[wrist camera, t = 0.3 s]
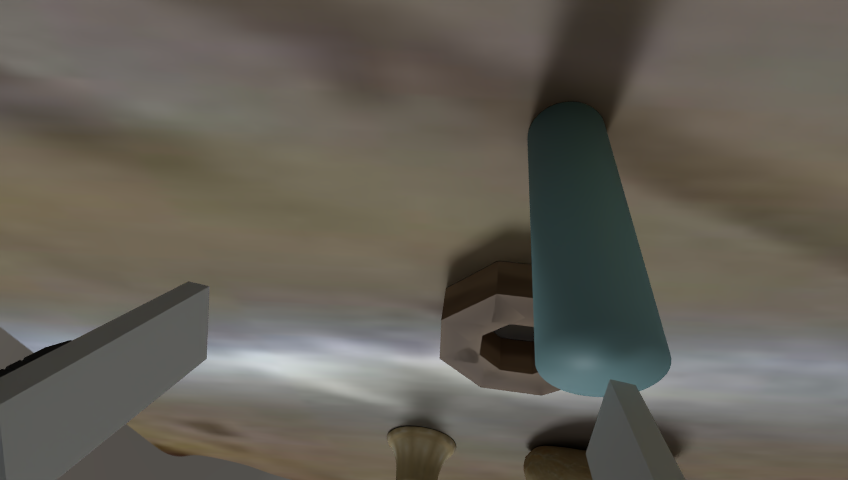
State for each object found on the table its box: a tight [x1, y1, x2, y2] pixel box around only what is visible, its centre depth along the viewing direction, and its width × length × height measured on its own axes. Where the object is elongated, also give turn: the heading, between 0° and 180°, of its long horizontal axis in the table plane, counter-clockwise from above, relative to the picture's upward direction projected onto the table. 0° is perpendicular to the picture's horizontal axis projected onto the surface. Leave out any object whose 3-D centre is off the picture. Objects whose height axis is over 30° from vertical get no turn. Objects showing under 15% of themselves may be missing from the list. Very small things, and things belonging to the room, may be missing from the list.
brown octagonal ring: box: [440, 261, 561, 396], centre depth 34 cm, size 12×12×3 cm
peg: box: [528, 102, 671, 397], centre depth 19 cm, size 4×4×14 cm
